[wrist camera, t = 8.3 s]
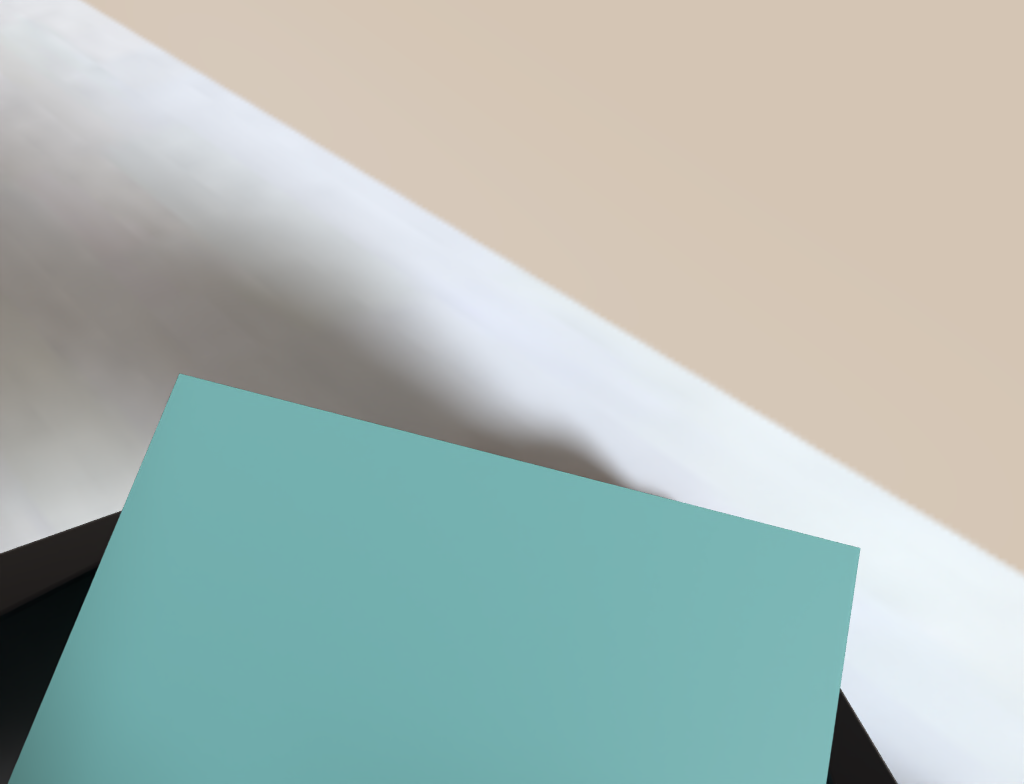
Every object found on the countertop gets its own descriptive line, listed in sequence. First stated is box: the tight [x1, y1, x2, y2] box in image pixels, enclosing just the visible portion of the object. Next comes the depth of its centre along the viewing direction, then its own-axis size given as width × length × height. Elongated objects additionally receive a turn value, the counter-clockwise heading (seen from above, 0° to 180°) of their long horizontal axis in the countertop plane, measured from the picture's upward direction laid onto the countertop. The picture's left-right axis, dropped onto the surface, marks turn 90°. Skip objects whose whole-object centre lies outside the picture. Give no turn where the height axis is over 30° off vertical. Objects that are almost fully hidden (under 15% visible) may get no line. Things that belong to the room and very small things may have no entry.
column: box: [8, 373, 860, 784], centre depth 11 cm, size 6×6×12 cm
